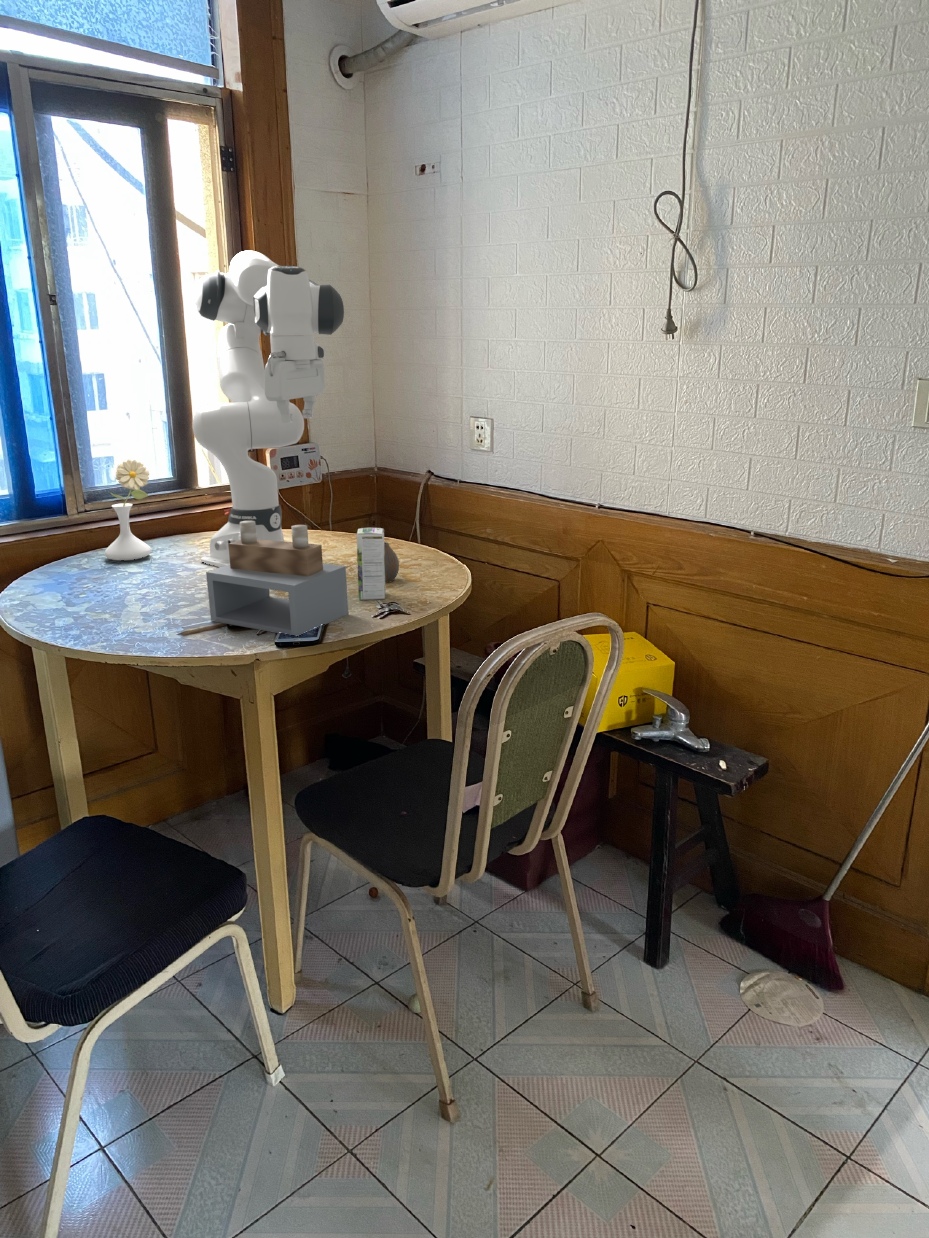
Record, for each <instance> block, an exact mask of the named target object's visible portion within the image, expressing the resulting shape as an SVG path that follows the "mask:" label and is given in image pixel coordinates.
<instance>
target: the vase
mask: <svg viewBox="0 0 929 1238" xmlns="http://www.w3.org/2000/svg"><path fill="white" fill-rule="evenodd" d="M384 554H385V583H390V582H393V581H394V580H395V579H396V578H397V576H398V575H399V570H400V561H399V558H398V555H397V554H396V552H395V551H394V549H392V548H391V546H390V544H389V542H386V541H384Z"/></svg>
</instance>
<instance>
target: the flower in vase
mask: <svg viewBox="0 0 929 1238" xmlns="http://www.w3.org/2000/svg"><path fill="white" fill-rule="evenodd" d="M149 477H150V471H149V470H147V468H146V467H145V466H144V463H142V462H141V461H137V460H135V459H134V460H131V459H127V460H125V461H123V462H122V463H120V464H118V465H117V467H116V471H115V480H117V481H118V482H117V483H119V484H120V486H121V487H122V488H126V489H129V492H128V495H127V497H126V498H125V497H124V496H122V495H119V494H116V493H112V492H111V491H110V492H109V493H110V495H112V496H113V497H115V498H117V499H122V500H124V503H116V504H112V505H111V507H112V509H114V511H115V513H116V514H117V518H118V522H119V529H120V530H119V531H120V533H119V535H118V537H116V539H115V540H114V541H113V542H111V543H110V545H108V547H107V548H106V549H105V550H104V553H103V554H104V556H105V557H106V559H109V560H112V561H121V560H124V561H135V560H139V559H142V557H143V558H145V557H147V556H149V555H150V554H151V553H152V548H151V547H150V545H149V544H147V543H146V542H144V541H143V540H141V539H139V538H138V537H137V536H135V535H134V534H133V533H132V531H131V528H130V511H131V509H132V507H133V503H128V502H127V501H128V499H129V498H130V495H131V497H133V498H134V499H136V500H142V499H145V498H147V497H149V494H147V492H145V491H144V490H141V488H143V487H145V486H147V485H148V482H149V481H148V480H149ZM132 490H133V491H132ZM134 559H135V560H134Z"/></svg>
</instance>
